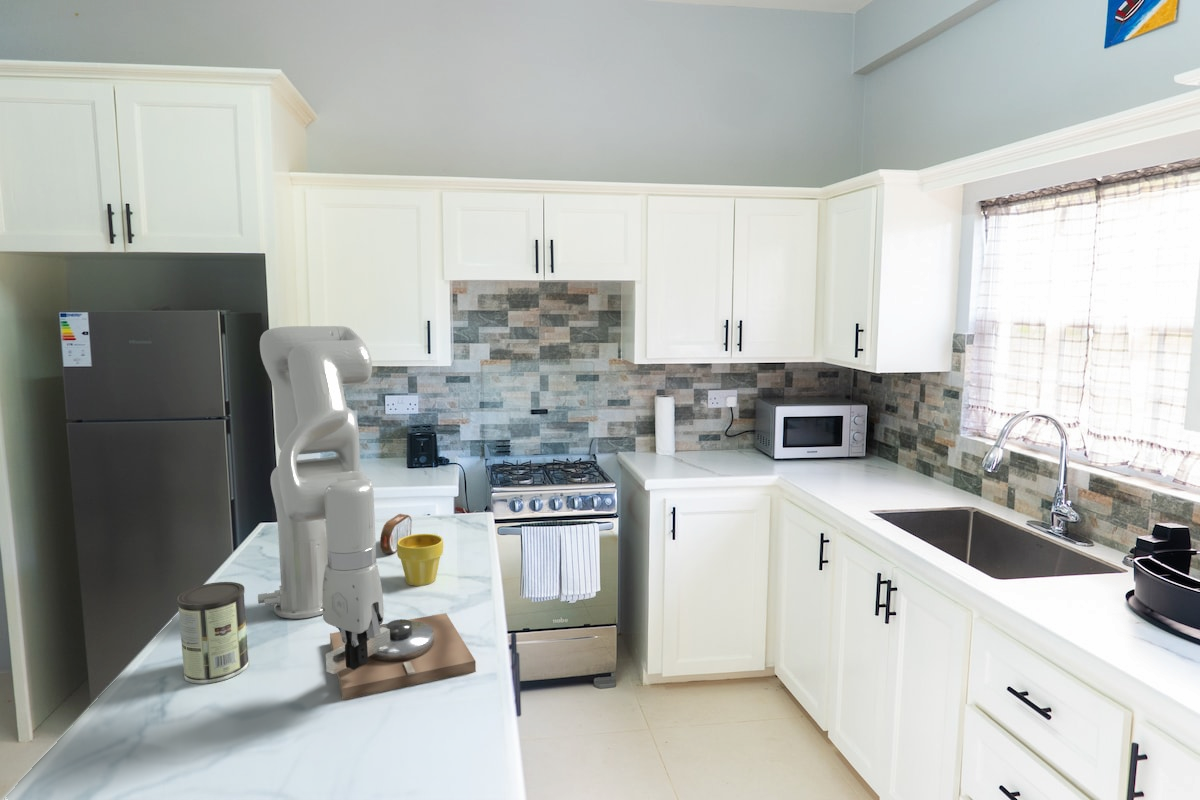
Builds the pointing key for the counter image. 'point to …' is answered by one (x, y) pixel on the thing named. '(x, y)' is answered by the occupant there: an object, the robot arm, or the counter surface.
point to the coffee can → (213, 632)
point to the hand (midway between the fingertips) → (357, 665)
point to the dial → (390, 644)
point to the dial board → (409, 663)
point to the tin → (394, 532)
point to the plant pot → (420, 557)
